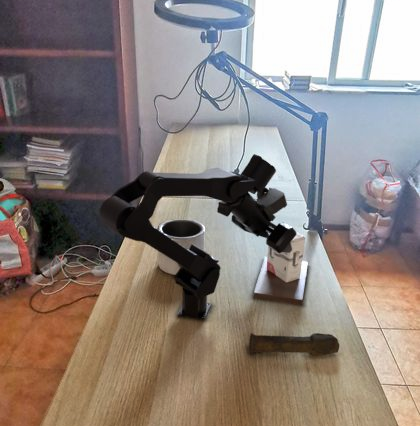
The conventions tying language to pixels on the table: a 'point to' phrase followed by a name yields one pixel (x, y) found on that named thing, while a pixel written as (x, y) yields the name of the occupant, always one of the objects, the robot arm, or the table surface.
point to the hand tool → (295, 344)
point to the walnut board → (280, 286)
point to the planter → (180, 239)
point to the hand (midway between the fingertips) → (278, 243)
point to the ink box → (287, 260)
